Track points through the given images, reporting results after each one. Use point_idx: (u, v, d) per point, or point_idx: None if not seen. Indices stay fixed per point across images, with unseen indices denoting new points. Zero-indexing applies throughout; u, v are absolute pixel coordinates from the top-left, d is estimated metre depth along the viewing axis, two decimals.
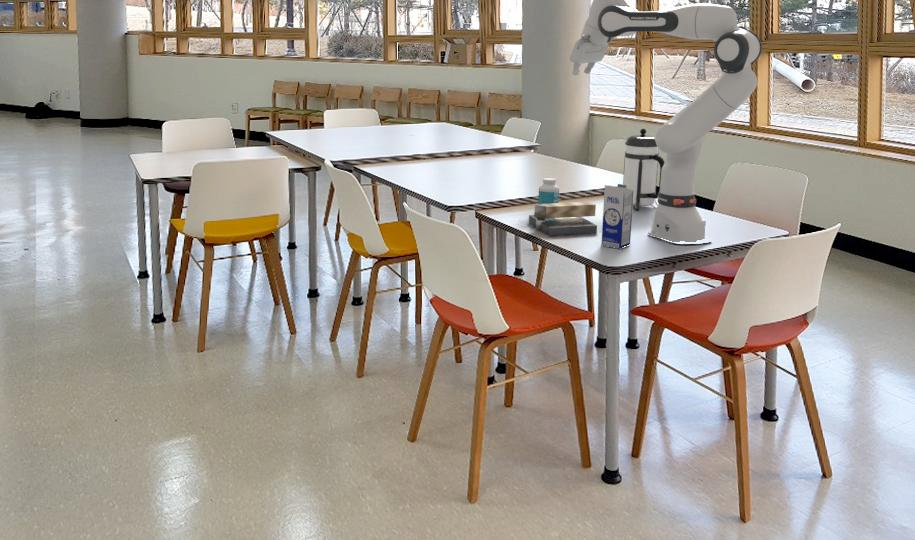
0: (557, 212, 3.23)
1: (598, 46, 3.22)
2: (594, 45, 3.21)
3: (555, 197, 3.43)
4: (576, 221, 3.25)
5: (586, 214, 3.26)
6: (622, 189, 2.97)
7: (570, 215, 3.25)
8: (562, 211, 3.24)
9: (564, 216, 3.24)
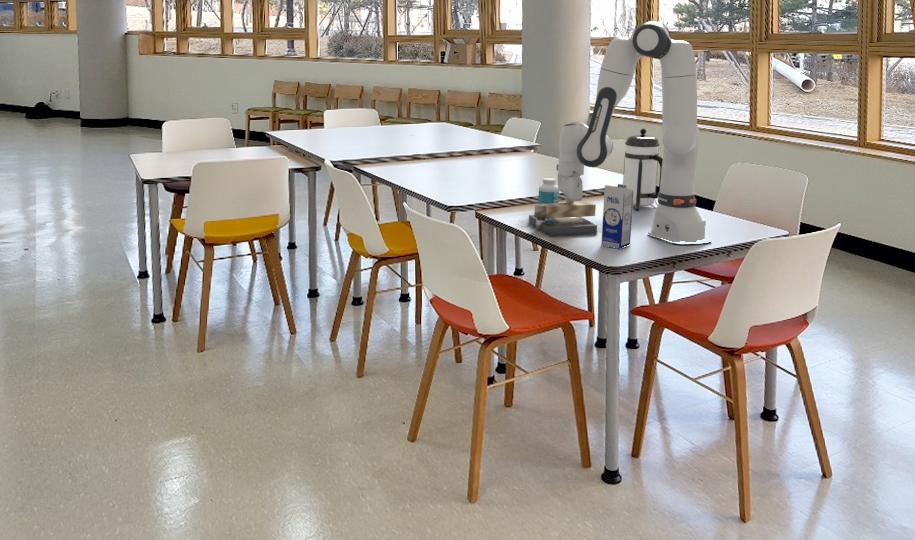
0: (557, 212, 3.23)
1: (579, 177, 3.28)
2: (578, 177, 3.27)
3: (555, 197, 3.43)
4: (576, 221, 3.25)
5: (586, 214, 3.26)
6: (622, 189, 2.97)
7: (570, 215, 3.25)
8: (562, 211, 3.24)
9: (564, 216, 3.24)
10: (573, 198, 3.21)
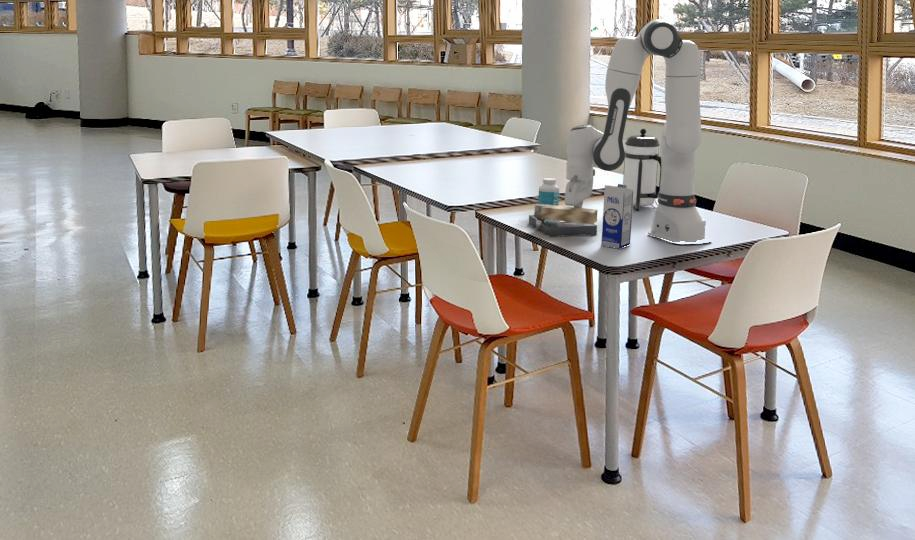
0: (552, 214, 3.20)
1: (587, 182, 3.18)
2: (583, 183, 3.17)
3: (555, 197, 3.43)
4: None
5: (583, 220, 3.16)
6: (622, 189, 2.97)
7: (566, 219, 3.19)
8: (557, 214, 3.19)
9: (560, 219, 3.19)
10: (565, 202, 3.13)
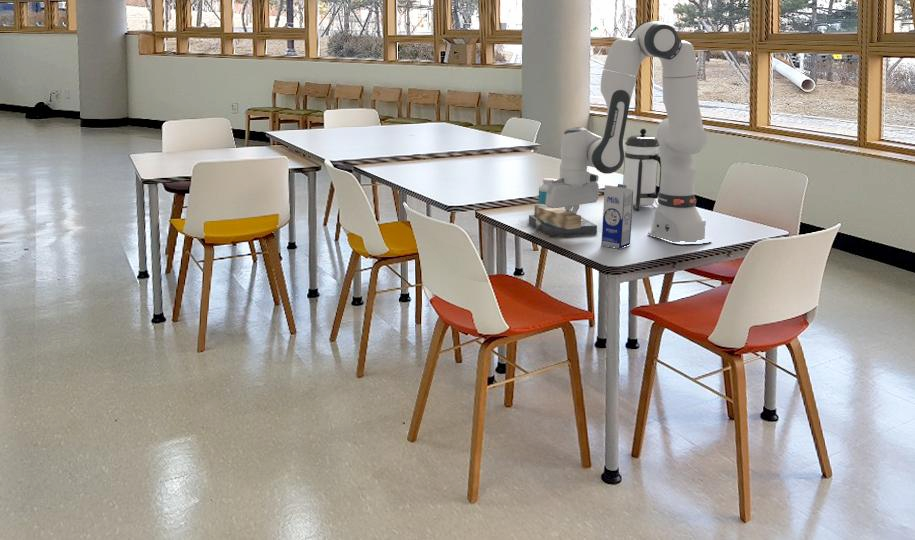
0: (543, 215, 3.19)
1: (577, 187, 3.11)
2: (571, 187, 3.11)
3: None
4: None
5: (562, 224, 3.10)
6: (622, 189, 2.97)
7: (551, 221, 3.15)
8: (546, 215, 3.17)
9: (547, 221, 3.17)
10: (546, 204, 3.11)
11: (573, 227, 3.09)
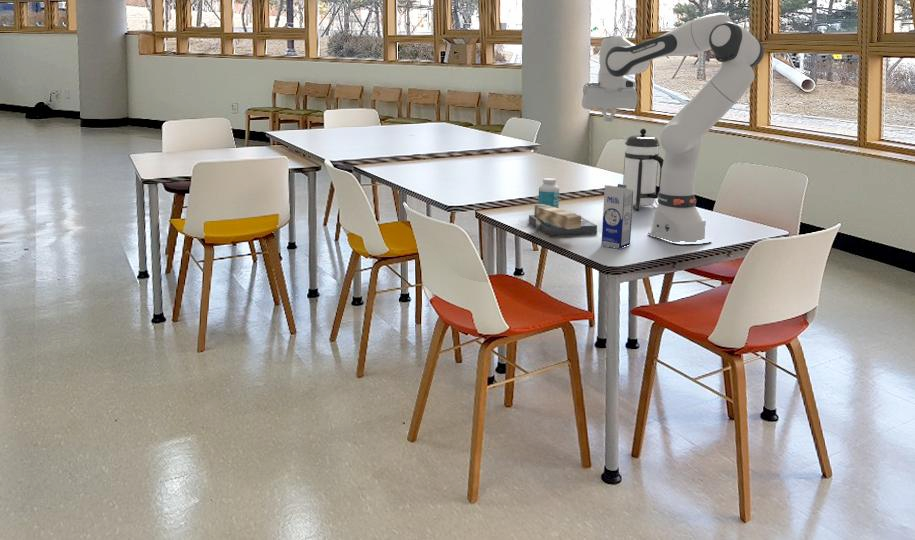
0: (543, 215, 3.19)
1: (611, 90, 3.37)
2: (606, 90, 3.37)
3: (555, 197, 3.43)
4: None
5: (562, 224, 3.10)
6: (622, 189, 2.97)
7: (551, 221, 3.15)
8: (546, 215, 3.17)
9: (547, 221, 3.17)
10: (582, 105, 3.40)
11: (573, 227, 3.09)
